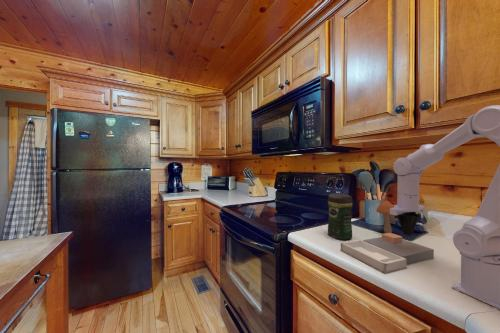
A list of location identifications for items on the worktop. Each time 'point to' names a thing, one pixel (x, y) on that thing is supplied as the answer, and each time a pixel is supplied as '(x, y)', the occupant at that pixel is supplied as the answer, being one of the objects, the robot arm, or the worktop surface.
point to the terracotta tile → (392, 238)
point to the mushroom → (385, 215)
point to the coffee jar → (340, 216)
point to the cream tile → (379, 257)
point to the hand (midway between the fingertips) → (407, 234)
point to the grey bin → (363, 248)
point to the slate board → (405, 250)
